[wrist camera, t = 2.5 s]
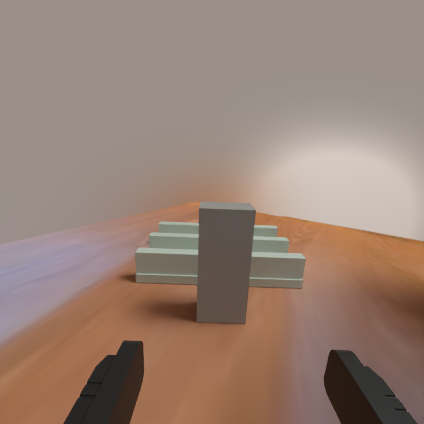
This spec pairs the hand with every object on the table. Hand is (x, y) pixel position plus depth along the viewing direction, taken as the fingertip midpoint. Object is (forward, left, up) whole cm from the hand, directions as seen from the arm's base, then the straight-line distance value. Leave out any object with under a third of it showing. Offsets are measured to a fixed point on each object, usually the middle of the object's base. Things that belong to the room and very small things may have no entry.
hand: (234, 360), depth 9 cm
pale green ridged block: (0, -24, -8) cm, 26 cm away
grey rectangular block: (0, -12, -8) cm, 15 cm away
